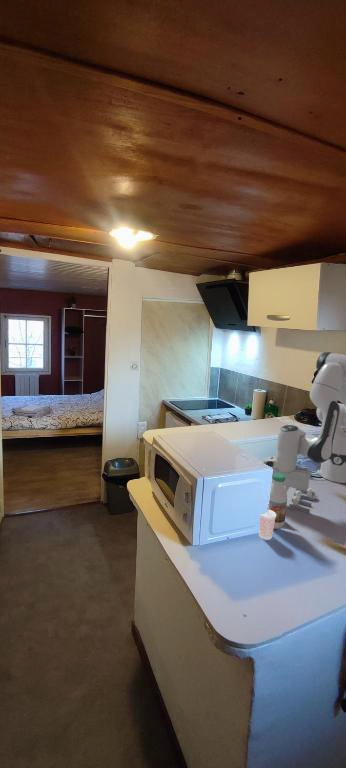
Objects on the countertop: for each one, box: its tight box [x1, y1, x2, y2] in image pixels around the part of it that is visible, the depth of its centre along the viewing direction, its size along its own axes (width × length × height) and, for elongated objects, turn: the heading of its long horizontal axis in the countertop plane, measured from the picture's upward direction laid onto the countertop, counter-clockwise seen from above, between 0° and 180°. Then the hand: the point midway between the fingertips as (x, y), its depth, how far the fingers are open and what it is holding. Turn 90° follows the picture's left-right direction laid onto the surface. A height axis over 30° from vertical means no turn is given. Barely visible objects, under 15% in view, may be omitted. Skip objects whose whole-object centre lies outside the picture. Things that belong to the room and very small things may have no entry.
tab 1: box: [294, 490, 302, 500], centre depth 158 cm, size 3×2×4 cm, turn 153°
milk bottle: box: [269, 473, 288, 530], centre depth 138 cm, size 8×8×20 cm
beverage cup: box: [258, 500, 276, 541], centre depth 131 cm, size 6×6×14 cm
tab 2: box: [292, 495, 299, 506], centre depth 153 cm, size 3×2×4 cm, turn 152°
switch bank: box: [288, 488, 316, 514], centre depth 158 cm, size 24×9×2 cm, turn 153°
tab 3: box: [306, 486, 314, 497], centre depth 162 cm, size 3×2×4 cm, turn 152°
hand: (282, 494), depth 155 cm, fingers closed
